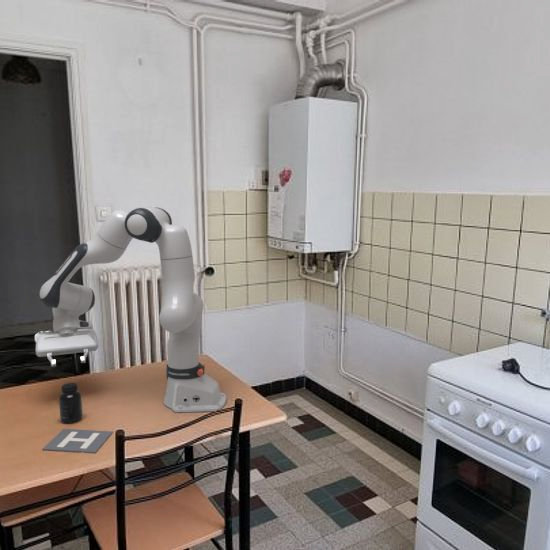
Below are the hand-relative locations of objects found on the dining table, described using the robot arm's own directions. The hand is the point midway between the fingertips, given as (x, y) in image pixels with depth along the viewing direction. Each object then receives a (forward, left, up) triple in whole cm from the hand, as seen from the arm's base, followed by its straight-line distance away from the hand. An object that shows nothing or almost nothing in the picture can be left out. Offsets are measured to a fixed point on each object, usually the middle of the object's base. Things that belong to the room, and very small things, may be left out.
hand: (68, 363), depth 163 cm
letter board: (-14, +23, -15) cm, 31 cm away
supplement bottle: (-5, +10, -16) cm, 19 cm away
